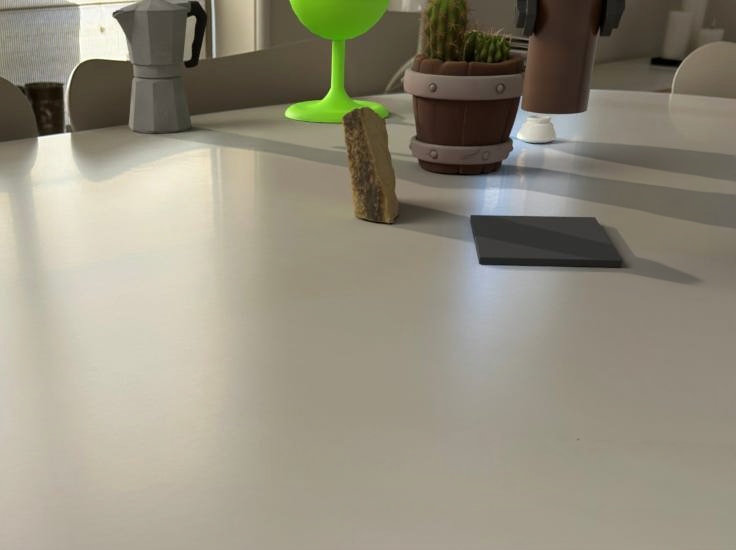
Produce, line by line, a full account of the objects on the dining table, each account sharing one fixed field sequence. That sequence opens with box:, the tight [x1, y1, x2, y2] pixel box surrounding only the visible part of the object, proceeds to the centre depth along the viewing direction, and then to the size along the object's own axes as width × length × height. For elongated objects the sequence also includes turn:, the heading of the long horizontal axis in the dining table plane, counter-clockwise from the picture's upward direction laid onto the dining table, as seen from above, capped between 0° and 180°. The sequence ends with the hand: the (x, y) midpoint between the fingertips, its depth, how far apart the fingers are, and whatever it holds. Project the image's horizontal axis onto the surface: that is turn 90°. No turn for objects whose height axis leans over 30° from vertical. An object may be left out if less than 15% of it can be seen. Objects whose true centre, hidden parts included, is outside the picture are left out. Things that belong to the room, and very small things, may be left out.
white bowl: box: [516, 114, 557, 144], centre depth 141 cm, size 5×3×5 cm
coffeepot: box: [111, 0, 208, 134], centre depth 149 cm, size 15×9×18 cm, turn 128°
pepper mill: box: [520, 0, 604, 115], centre depth 79 cm, size 5×5×12 cm
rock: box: [341, 107, 400, 225], centre depth 107 cm, size 11×9×10 cm
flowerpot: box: [400, 0, 526, 175], centre depth 122 cm, size 14×15×20 cm
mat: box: [469, 214, 623, 268], centre depth 97 cm, size 12×16×1 cm
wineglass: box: [284, 0, 392, 124], centre depth 158 cm, size 16×16×18 cm
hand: (568, 27), depth 77 cm, fingers closed on pepper mill, 5 cm apart
